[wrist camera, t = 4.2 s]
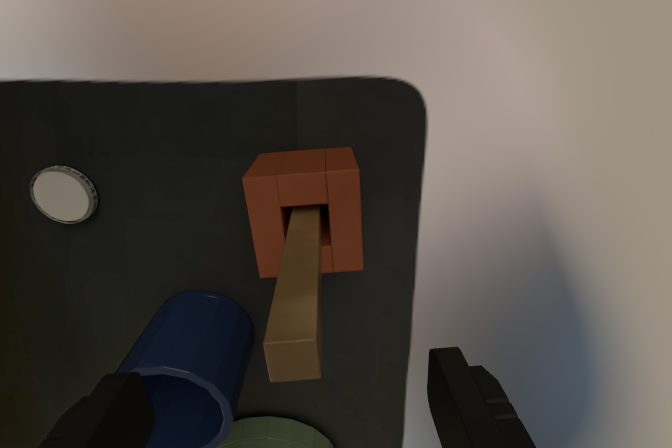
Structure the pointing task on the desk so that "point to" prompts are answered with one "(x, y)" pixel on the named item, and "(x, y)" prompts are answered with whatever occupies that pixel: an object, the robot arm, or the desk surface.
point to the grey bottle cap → (63, 194)
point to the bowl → (273, 434)
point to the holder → (305, 189)
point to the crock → (193, 368)
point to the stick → (297, 301)
